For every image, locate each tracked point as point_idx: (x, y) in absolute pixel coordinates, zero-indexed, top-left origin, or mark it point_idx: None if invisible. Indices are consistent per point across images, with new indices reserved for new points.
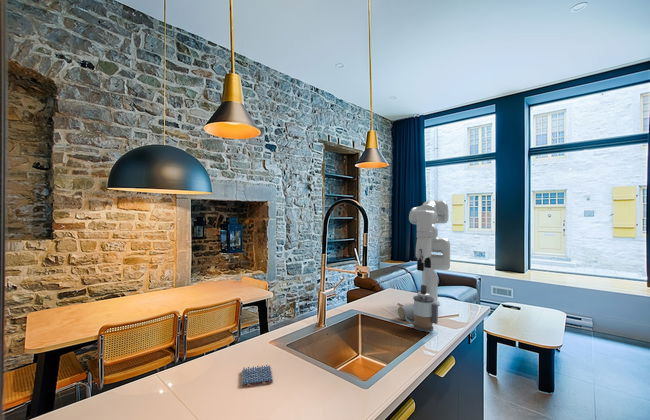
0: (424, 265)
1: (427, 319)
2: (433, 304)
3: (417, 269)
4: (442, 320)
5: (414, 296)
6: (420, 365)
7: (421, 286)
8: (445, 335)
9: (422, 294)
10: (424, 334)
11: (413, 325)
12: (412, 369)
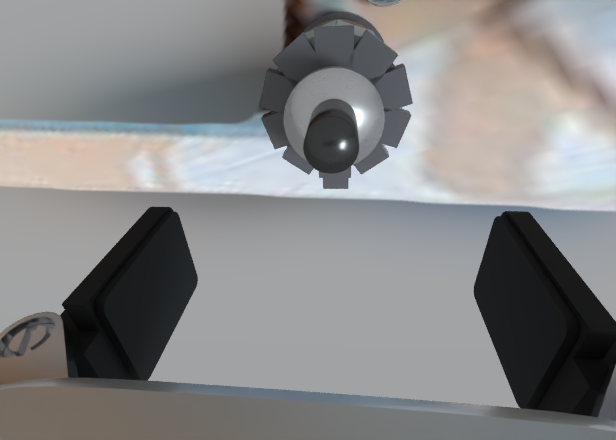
0: (510, 234)
1: None
2: None
3: (150, 215)
4: (510, 103)
5: (324, 33)
6: (58, 180)
7: (307, 131)
8: None
9: (294, 128)
10: None
11: (310, 24)
12: (21, 172)
